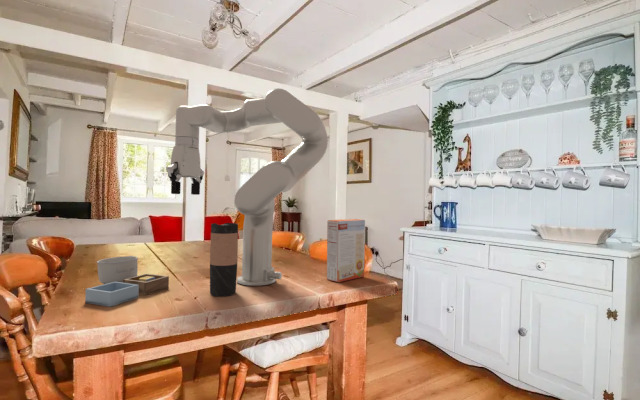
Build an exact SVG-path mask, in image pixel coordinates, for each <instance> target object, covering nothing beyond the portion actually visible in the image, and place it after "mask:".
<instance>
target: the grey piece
mask: <svg viewBox="0 0 640 400" xmlns="http://www.w3.org/2000/svg"><path fill="white" fill-rule="evenodd" d="M138 259H139V257H138V256H134V255H129V256H114V257H107V258H103V259H99V260H97V261H96V263H97V276H98V280H99V282H100V283H101V284H102V285H103V284H107V283H111V282H122V283H123V279H127V278H131V277H135V276H138V269H139V267H138Z"/></svg>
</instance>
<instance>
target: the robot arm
mask: <svg viewBox="0 0 640 400" xmlns="http://www.w3.org/2000/svg"><path fill="white" fill-rule="evenodd" d="M278 123H279V124H282V123H283V124H284V125H285V126H286V127H288V128H289V129H290V130H291V131H293V132H294V133H295V134H296V135H298V136H299V137H300V138H301V139H302V141H301V143H300V144H299V145H298V146H297V147H295V148H294V149H292V151H291V152H290V153H289V154H288V155H287V156H286V157H284V158H283V159H282V160H281V161H280V160H273V161H269V162H268V163H266V164H264V165H263V166H261V168H259V169H258V170H257V171H256V172H255V173H254V174H253V175H252V176H251V177H250V178H249V179H248V180H247V181H245V182H244V184H242V185H241V187H240V188H239V189H237V192H235V195H234V200H233V201H234V206H235V208H236V210H237V211H238V213H240V214H242V215H244V218H243V219H244V220H243V226H242V229H243V232H242V261H241V262H242V263H241V265H242V266H241V275H240V276H237V279H236V283H238V284H239V285H242V286H253V287H255V286H268V285H271V284H274V283H276V280H281V279H282V276H283V275H282V272H281V271H275V267H273V266H272V259H273V258H272V256H273V228H274V227H273V223H274V214H275V207H276V206H275V205H276V204H275V198H276V197H277V196H278V195H280V194H281V193H286V192H289V191H291V190H292V189H293V187H295V186H296V184H298V183H299V181H300V180H302V179H303V178H304V177H305V176H306V175H307V174H308V173H309V172H310V171H311V170H312V169H313V168H314V167H315V166H316V165H317V164H318V163H319V162H320V161H321V160H322V158H323V157H324V155H325V154H326V151H327V148H328V145H329V143H328V141H329V139H328V134H327V130H326V126H325V125H324V122H323V121H322V119H321V117H320V116H319V114H318V113H317V112H315V110H313V109H312V108H311V107H309V106H308V105H306V104H305V103H304V102H302V101H301V100H299V99H298V98H297V97H296V96H295V95H293V94H291V92H289V91H287V90H286V89H283V88H274V89H271V90H269V91H268V92H267V93H266V95H265V97H261V98H260V97H259V98H252V99H246V100H245V101H244V103H243V105H242V106H241V107H240V108H237V109H234V110H227V111H226V110H225V111H220V110H218V109H216V108H215V107H214V106H212V105H209V104H197V105H193V106H189V105H180V106H178V107H177V108H176V110H175V139H174V143H175V144H174V146H173V148H172V152H171V157H170V165H168V166H166V169H165V170H166V172H167V176H168V179H169V182H171V183H170V184H171V185H170V187H171V188H170V192H171V195H181V181H180V180H181V179H182V178H190V179H191V181H192V182H191V188H190V190H191V191H190V192H191V193H190V194H191V195H193V196H194V195H196V196H197V195H198V196H199V195H200V194H201V184H202V181H203V178H204V174H205V171H204V170H203V169H202V168H201V156H200V155H201V153H200V149H199V147H200V128H203V129H206V130H208V131H210V132H213V133H215V134H219V133H220V134H221V133H232V132H239V131H242V130H245V129H248V128H250V127H254V126H262V125H270V124H271V125H272V124H278Z"/></svg>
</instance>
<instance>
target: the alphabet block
mask: <svg viewBox="0 0 640 400" xmlns="http://www.w3.org/2000/svg"><path fill="white" fill-rule="evenodd" d="M151 280H155V277H150V276H145V277H142V278H139V281H144V282H148V281H151Z"/></svg>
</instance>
